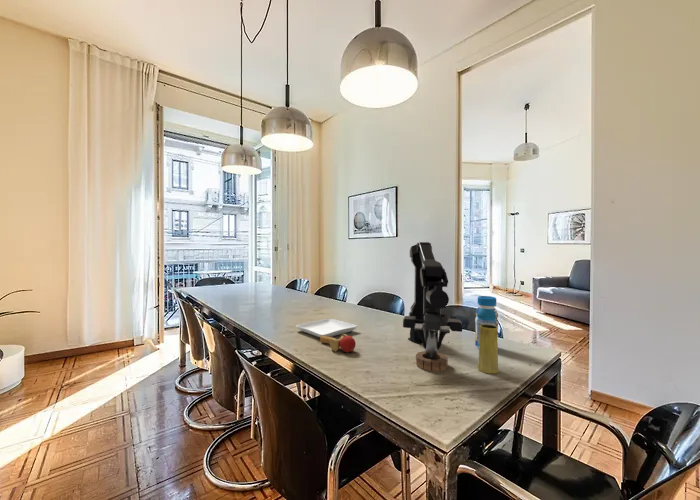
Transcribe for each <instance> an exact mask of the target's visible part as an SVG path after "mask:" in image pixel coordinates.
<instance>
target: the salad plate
mask: <svg viewBox="0 0 700 500" xmlns="http://www.w3.org/2000/svg"><path fill="white" fill-rule="evenodd" d="M358 326H359V325H357V324H353V323H350V322H347V321H346V322H345V321H341V320H338V319H335V318H334V319H333V318H331V317H330V318H325V319H319V320H313V321H309V322H304V323H299V324H297V325H295V327H296V329H298V330H299V331H301V332H304V333H306V334H309V335H312V336H315V337H317V338H319V339H320V338H321V336H323V335H324V336H328V337H332V338H334V337H336V336H339V335H340V336H341V335H343V334H348V333H349V332H352V331H354V330H357V329H356V328H358Z"/></svg>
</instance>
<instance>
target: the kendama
mask: <svg viewBox="0 0 700 500" xmlns="http://www.w3.org/2000/svg"><path fill="white" fill-rule="evenodd" d="M354 338H355V337H354ZM354 338H353V337H352V336H351V335H348V334H347V333H345V334H341V335H340V337H339V338H335V337H328V336H324V335H323V336H321V338H320V337H319V340H320V343H322V344H329V347H330V349H331V350H332V351H334V352H337V351H339V350H340V349H341V351H342V352H344V353H352V352H353V351H354V350H355V348H356V346H357V345H356V341H355V339H354Z"/></svg>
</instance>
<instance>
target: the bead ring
mask: <svg viewBox="0 0 700 500" xmlns="http://www.w3.org/2000/svg"><path fill="white" fill-rule="evenodd" d="M448 360H449V359H448V356H447V355H446V354H443V353H441V352H439V351H438V360H430V359H426V358H425V350H424V351H423V350H422V351H418V352H417V353H416V354H415V366H417V368H419V369H421V370H424V371H428V372H443V371H446V370H447V369H448V367H449V365H448Z"/></svg>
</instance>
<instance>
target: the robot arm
mask: <svg viewBox="0 0 700 500" xmlns="http://www.w3.org/2000/svg"><path fill="white" fill-rule="evenodd" d="M409 258H410V262H411V263H412V265H413V267H414V301H413V303H412V304H411V307H410V311H408V312H409V313H408V315H405V316H404V317H403V320H402V328H406V329H409V337H408V338H407V339H408V340H409V341H411V342H414V343H416V344H421V343H422V345H423V349H424V350H425V348H426V344H425V342H426V330H435V331H438V351H439V350H440V348H441V346H442V343H443V339H444V338H445V337H446V335H447V334H450V333H451V332H459V333H460V332H463V324H462V321H461V320H460V319H459V318H448V317H447V314H442V309H444V308H445V307H447V305H448V304H449V301H450V299H449V295H448V293H447V292H446V291H444V289H443V288H444V287H445V288H448V285H449V279H448V276H447V272H446V270H445V268H444V267H443V265H442V264H441V262H439V261H437V260H436V259H435V255H434V254H433V246H432V243H431V242H428V241H426V242H425V241H422V242H421V241H419V242H417V243H416V244H414V245H412V246H411V247H409ZM447 320H448V321H447ZM450 330H451V331H450Z"/></svg>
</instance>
